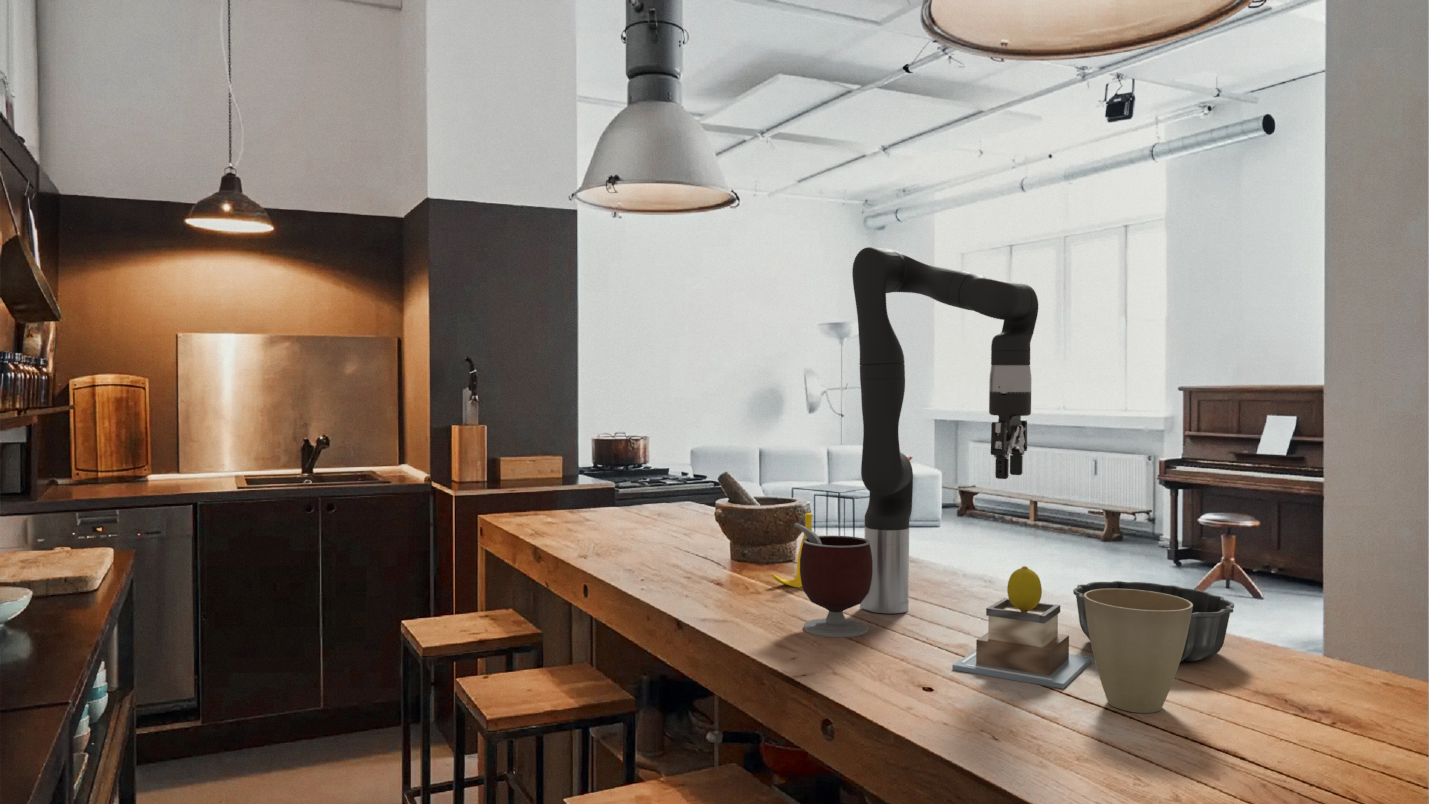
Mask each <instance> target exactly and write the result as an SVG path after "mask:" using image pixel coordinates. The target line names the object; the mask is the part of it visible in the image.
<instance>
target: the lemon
mask: <svg viewBox="0 0 1429 804" xmlns="http://www.w3.org/2000/svg"><path fill="white" fill-rule="evenodd" d="M1007 582H1008V583H1007V587H1006V588H1007V589H1006V590H1007V596H1008V599H1009V600H1010V602H1011V603H1012V604H1013V606H1015V607H1016V608H1018V609H1019V610H1020V611H1021V612H1026V613H1027V612H1028V611H1029V610H1030V609H1033V608H1035V607H1036V606H1037V605H1038V603H1039V602H1040V603H1041V600H1042V599H1041V598H1042V595H1043V590H1042V583H1041V580H1040V577H1039V575H1038V574H1037V573H1036V572H1035V571H1034V570H1032V569H1030V568H1029V567H1028V566H1026V565H1024V566H1023V565H1022V566H1021V568H1018V569H1016V570H1015V571H1013V572H1012V573H1011V574H1010V576H1009V578H1008V581H1007Z"/></svg>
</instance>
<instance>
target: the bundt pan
mask: <svg viewBox="0 0 1429 804" xmlns="http://www.w3.org/2000/svg"><path fill="white" fill-rule="evenodd" d="M1114 588H1115V589H1134V590H1144V591H1152V592H1158V593H1164V594H1169V595H1173V596H1177V597H1180V598H1183V599H1186V600H1188V601H1190V602H1191V603H1192V604H1193V608H1192V615H1191V620H1190V625H1189V630H1188V634H1187V639H1186V643H1185V647H1184V650H1183V654H1182V657H1181V660H1180V663H1181V662H1183V661H1185V662H1196V661H1200V660H1205V659H1209V658H1212V657H1214V656H1216V655H1217V654H1218V653H1219V652H1220V651H1221V649H1222V648H1223V645H1224V642H1225V640H1226V635H1227V631H1228V630H1227V629H1228V625H1229V622H1230V621H1229V619H1230V616H1231V613H1234V608H1235V603H1233V601H1230V600H1228V599H1225V597H1224V596H1221V595H1217V594H1216V595H1215V594H1212V593H1210V592H1207V591H1203V590H1199V589H1195V588H1188V587H1182V586H1178V585H1172V584H1171V585H1168V584H1167V585H1166V584H1160V583H1154V582H1145V581H1144V582H1143V581H1121V580H1115V581H1093V582H1092V581H1091V582H1088V583H1086V584H1077V586H1076V587H1074V588H1073V590H1072V591H1073V592H1072V593H1073V595H1074V596H1075V598H1076V605H1077V612H1078V619H1079V620H1078V622H1079V626H1080V628H1081V630H1082V632H1083V633H1084V635H1085V636H1086V637H1087V639H1088V640H1089V641H1090V637H1089V631H1088V625H1087V617H1086V609H1085V601H1084V593H1086V592H1088V591H1091V590H1096V589H1114Z"/></svg>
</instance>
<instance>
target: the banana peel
mask: <svg viewBox="0 0 1429 804" xmlns="http://www.w3.org/2000/svg"><path fill="white" fill-rule="evenodd" d="M804 518H805V519H804V520H805V527H806V528H808V529H810V530H811V531H813V528H812V522H813V521H812V520H813V513H811V512H810V513H809V512H807V513H805V514H804ZM805 538H807V537H806V535H805V534H804V533H803V536H802V539H801V543H800V545H799V550H798V554H797V562H796V573H795V576H794V578H793V579H784V578H780V577H779V576H778V575H776V574H774V573H771V575H770V576H771V577H772V578H773V579H774V581H776V582H778V583H780V584H782V585H786V586H790V587H792V588H803V587H802V583H801V576H800V557H801V550H802V546H803V539H805Z"/></svg>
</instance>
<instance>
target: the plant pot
mask: <svg viewBox="0 0 1429 804" xmlns="http://www.w3.org/2000/svg"><path fill="white" fill-rule="evenodd" d="M1084 601H1085V609H1086V617H1087V625H1088V631H1089V637H1090V640H1089V641H1090V646H1091V650H1092V654H1093V657H1094V662H1095V667H1096V669H1097V673H1098V676H1099V680H1100V682H1101V685H1102V689H1103V691H1104V696H1105V698H1106V701H1107V702H1108V704H1109V705H1110V706H1112V707H1114V708H1116V709H1118V710H1122V711H1126V712H1131V713H1140V714H1153V713H1157V712H1159V711H1161V710H1162V708H1163V706H1164V704H1165V702H1166V701H1167V697H1168V695H1169V692H1170V690H1171V688H1172V686H1173V683H1174V681H1175V677H1176V675H1177V672H1178V670H1179V669H1178V668H1179V666H1180V663H1181V662H1180V660H1181V657H1182V654H1183V650H1184V647H1185V643H1186V639H1187V634H1188V630H1189V625H1190V620H1191V615H1192V608H1193V604H1192V603H1191V602H1190V601H1188V600H1186V599H1183V598H1180V597H1177V596H1173V595H1169V594H1164V593H1158V592H1152V591H1144V590H1134V589H1115V588H1114V589H1096V590H1091V591H1088V592H1086V593H1084Z"/></svg>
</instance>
